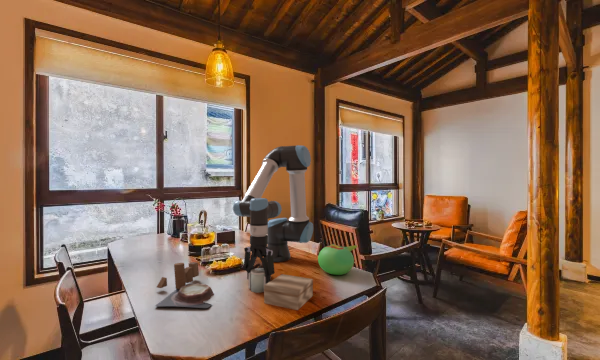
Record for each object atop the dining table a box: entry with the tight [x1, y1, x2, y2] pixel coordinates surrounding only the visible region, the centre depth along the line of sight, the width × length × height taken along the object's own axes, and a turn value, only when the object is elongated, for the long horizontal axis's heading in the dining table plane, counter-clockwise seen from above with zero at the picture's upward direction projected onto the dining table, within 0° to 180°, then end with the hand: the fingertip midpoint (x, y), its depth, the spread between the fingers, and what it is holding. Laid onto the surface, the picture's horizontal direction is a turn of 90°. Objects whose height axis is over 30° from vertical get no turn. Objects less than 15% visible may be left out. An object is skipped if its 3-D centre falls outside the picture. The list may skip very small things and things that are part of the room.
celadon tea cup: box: [250, 268, 265, 294], centre depth 121 cm, size 7×7×8 cm
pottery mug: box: [253, 262, 272, 281], centre depth 134 cm, size 12×9×8 cm
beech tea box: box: [263, 273, 314, 311], centre depth 111 cm, size 14×14×7 cm
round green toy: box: [317, 243, 358, 276], centre depth 142 cm, size 18×17×15 cm
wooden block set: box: [156, 261, 200, 289], centre depth 125 cm, size 18×9×10 cm, turn 149°
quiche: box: [154, 283, 215, 309], centre depth 114 cm, size 21×20×4 cm
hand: (258, 289), depth 121 cm, fingers open, 7 cm apart
